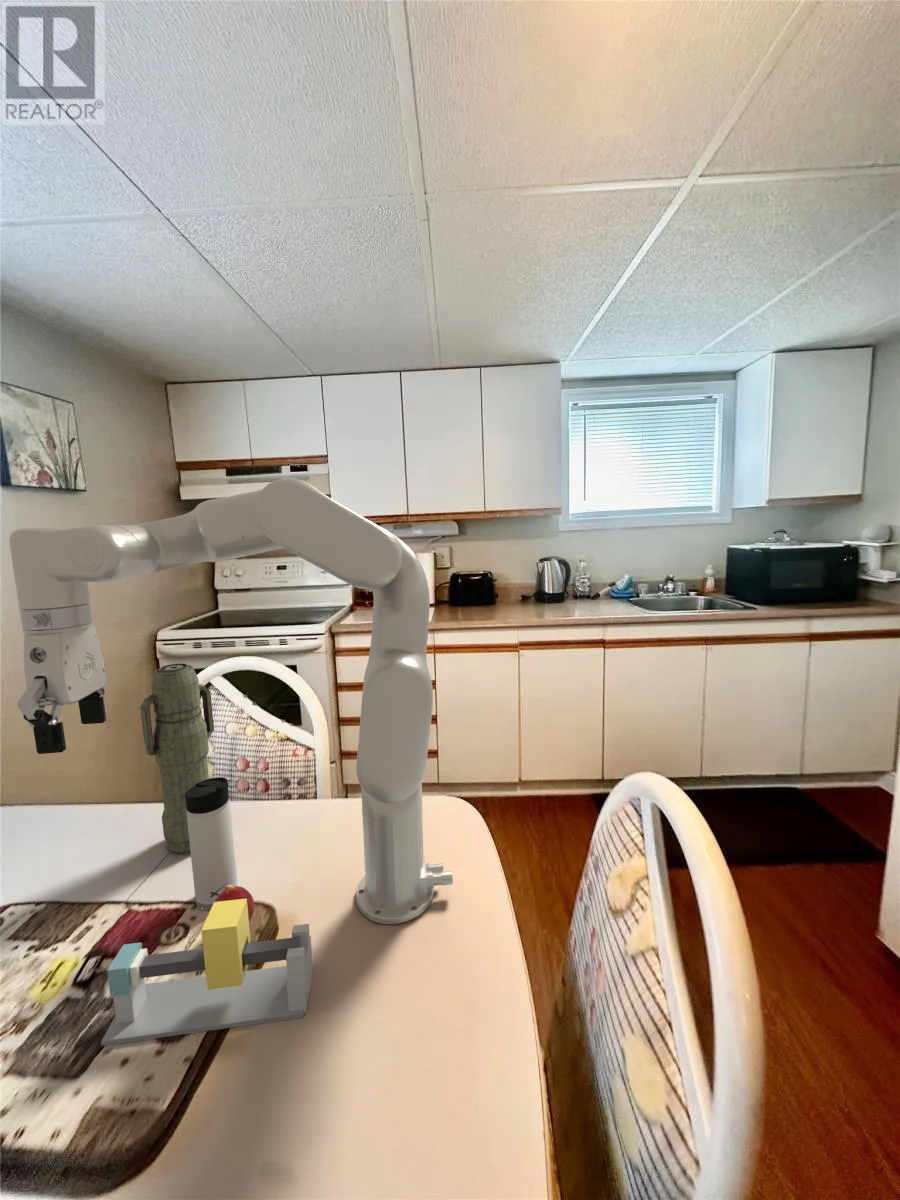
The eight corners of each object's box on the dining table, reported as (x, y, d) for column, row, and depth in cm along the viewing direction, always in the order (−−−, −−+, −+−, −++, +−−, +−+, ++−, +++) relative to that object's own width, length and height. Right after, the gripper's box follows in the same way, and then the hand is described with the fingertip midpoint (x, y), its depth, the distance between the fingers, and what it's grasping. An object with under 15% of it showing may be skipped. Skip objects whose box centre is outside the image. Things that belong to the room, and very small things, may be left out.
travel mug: (223, 914, 75) (212, 796, 72) (187, 908, 77) (174, 792, 74) (247, 885, 81) (238, 775, 78) (213, 880, 83) (202, 771, 80)
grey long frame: (313, 966, 66) (309, 912, 65) (305, 1016, 59) (300, 958, 58) (132, 989, 63) (125, 933, 62) (101, 1045, 56) (92, 984, 55)
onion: (244, 911, 76) (240, 865, 75) (263, 929, 72) (259, 882, 71) (206, 935, 71) (201, 887, 70) (225, 956, 68) (220, 906, 67)
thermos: (233, 830, 96) (218, 661, 91) (176, 866, 86) (155, 679, 81) (206, 817, 101) (190, 656, 95) (148, 851, 90) (126, 672, 85)
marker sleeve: (251, 954, 63) (246, 898, 62) (241, 985, 59) (236, 926, 58) (219, 958, 63) (214, 902, 61) (207, 989, 58) (201, 930, 57)
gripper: (46, 630, 58) (65, 763, 60) (120, 607, 75) (132, 712, 77) (-25, 633, 57) (-2, 768, 59) (66, 609, 74) (81, 715, 76)
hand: (74, 736), depth 68 cm, fingers open, 9 cm apart
